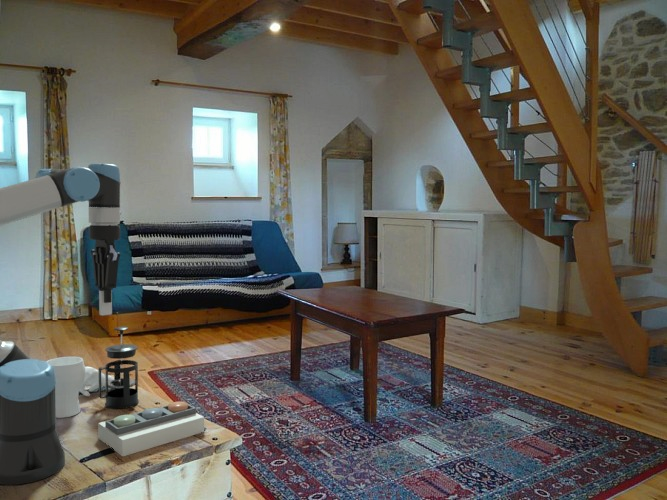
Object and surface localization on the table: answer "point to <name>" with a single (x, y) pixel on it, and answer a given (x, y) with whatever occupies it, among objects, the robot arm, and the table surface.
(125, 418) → the button sage
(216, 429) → the table surface
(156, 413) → the button slate
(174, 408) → the button terracotta
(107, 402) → the french press
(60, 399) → the cup
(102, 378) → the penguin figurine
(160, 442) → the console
